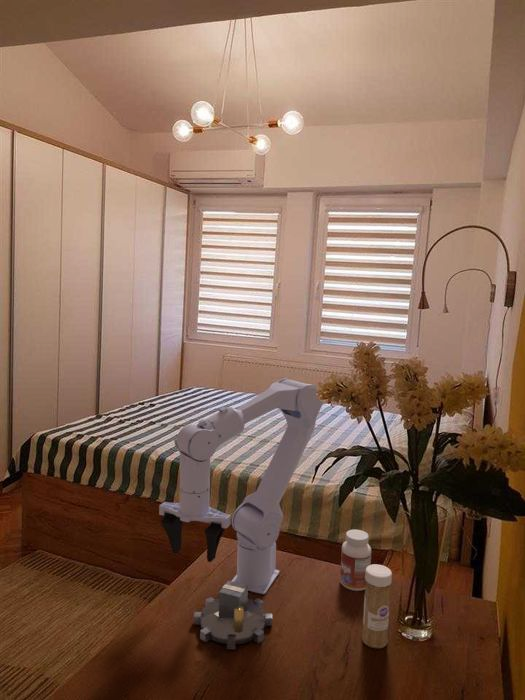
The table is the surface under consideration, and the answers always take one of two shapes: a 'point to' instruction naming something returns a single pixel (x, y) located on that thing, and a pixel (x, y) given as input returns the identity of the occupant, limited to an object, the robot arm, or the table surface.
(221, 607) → the grooved silver cube
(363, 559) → the pill bottle
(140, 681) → the table surface
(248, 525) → the robot arm
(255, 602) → the sprocket
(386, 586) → the sprinkles bottle
